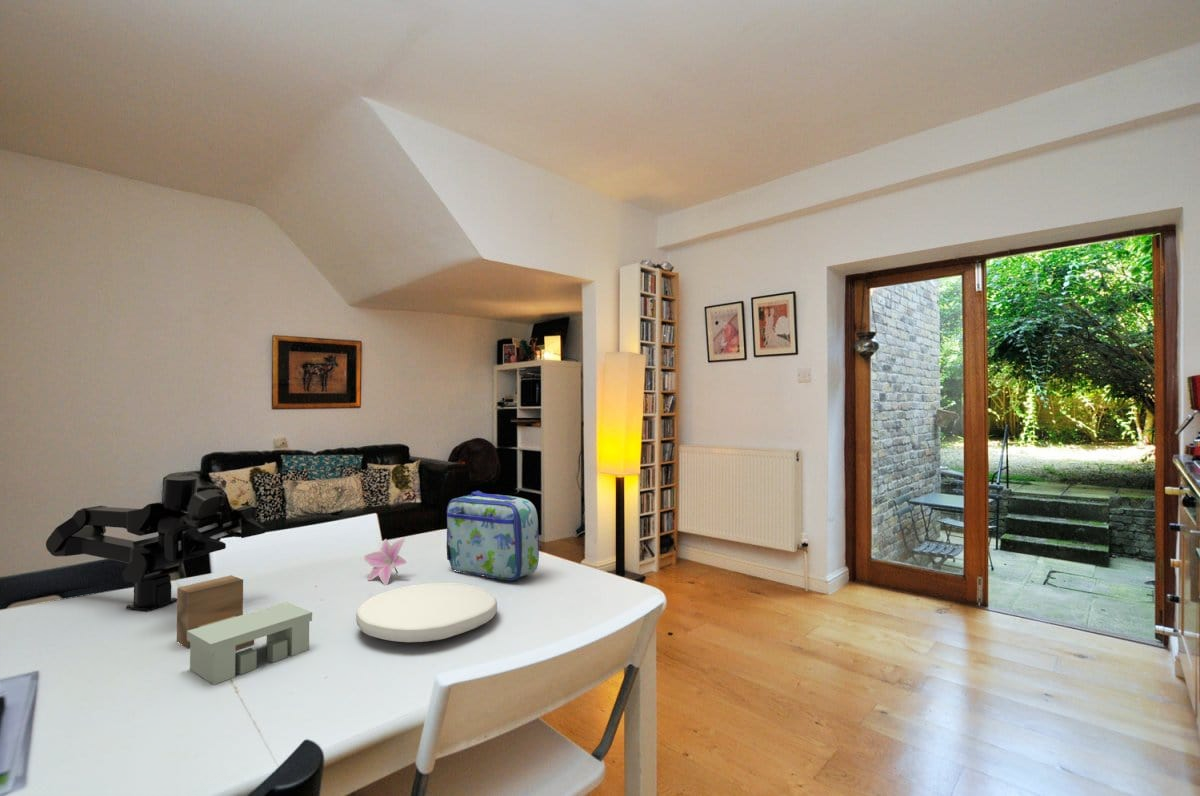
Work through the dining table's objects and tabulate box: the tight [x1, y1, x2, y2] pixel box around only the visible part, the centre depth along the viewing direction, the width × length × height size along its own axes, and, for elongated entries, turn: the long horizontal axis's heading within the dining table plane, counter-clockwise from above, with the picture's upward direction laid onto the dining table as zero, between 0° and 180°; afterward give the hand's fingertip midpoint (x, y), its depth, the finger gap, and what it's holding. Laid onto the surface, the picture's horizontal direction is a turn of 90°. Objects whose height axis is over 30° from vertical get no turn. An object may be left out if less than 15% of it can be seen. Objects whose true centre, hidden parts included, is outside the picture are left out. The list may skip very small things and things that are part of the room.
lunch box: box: [446, 490, 540, 582], centre depth 143 cm, size 26×11×21 cm, turn 58°
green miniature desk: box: [187, 601, 313, 685], centre depth 95 cm, size 9×16×6 cm, turn 146°
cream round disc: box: [355, 582, 498, 643], centre depth 111 cm, size 28×6×27 cm
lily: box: [363, 537, 408, 585], centre depth 140 cm, size 12×12×10 cm
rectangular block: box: [176, 574, 255, 651], centre depth 102 cm, size 13×9×10 cm
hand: (245, 538), depth 114 cm, fingers open, 9 cm apart
